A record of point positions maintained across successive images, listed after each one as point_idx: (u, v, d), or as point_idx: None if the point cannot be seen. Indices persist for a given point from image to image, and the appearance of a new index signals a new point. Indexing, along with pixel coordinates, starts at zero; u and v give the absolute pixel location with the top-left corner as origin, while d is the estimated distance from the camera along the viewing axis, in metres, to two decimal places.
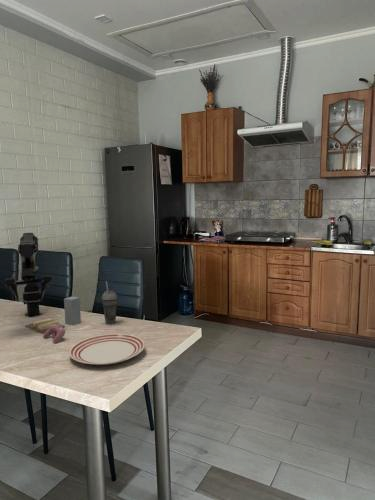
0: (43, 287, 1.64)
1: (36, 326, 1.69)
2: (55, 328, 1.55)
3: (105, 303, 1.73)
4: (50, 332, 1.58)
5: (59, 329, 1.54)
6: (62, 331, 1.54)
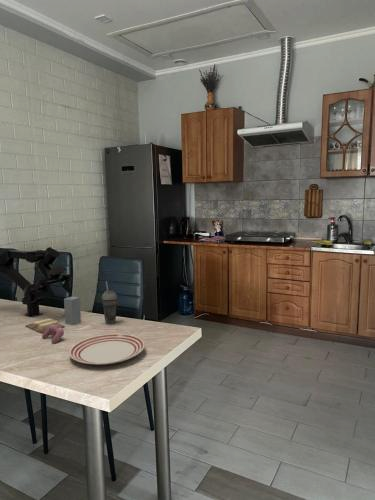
0: (68, 283, 1.85)
1: (36, 326, 1.69)
2: (54, 328, 1.55)
3: (105, 303, 1.73)
4: (49, 332, 1.58)
5: (58, 329, 1.53)
6: (61, 331, 1.53)
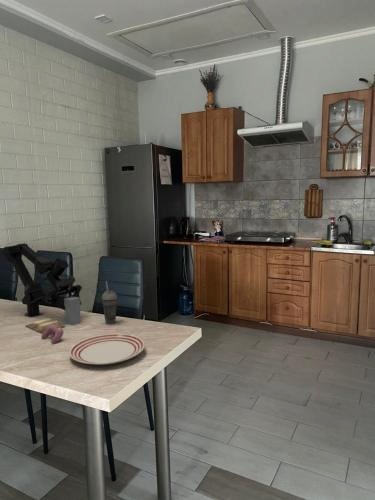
0: (78, 294, 1.82)
1: (36, 326, 1.69)
2: (53, 328, 1.54)
3: (105, 303, 1.73)
4: (48, 332, 1.57)
5: (57, 330, 1.53)
6: (60, 332, 1.53)
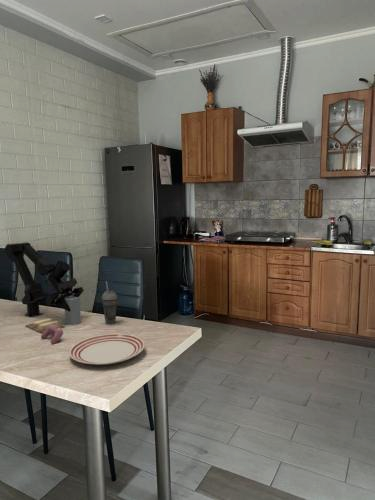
0: None
1: (36, 326, 1.69)
2: (53, 329, 1.54)
3: (105, 303, 1.73)
4: (48, 333, 1.57)
5: (57, 330, 1.53)
6: (60, 332, 1.53)
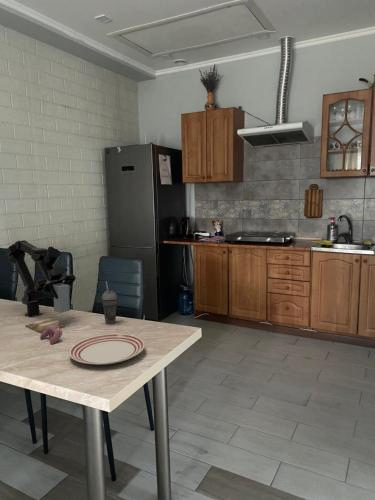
0: None
1: (36, 326, 1.69)
2: (52, 329, 1.54)
3: (105, 303, 1.73)
4: (47, 333, 1.57)
5: (56, 330, 1.53)
6: (59, 332, 1.53)
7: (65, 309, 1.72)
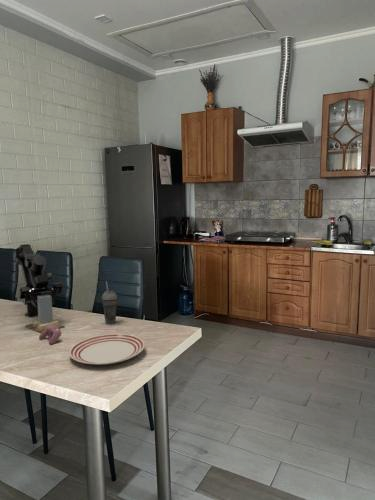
0: (54, 293, 1.73)
1: (36, 326, 1.69)
2: (51, 329, 1.54)
3: (105, 303, 1.73)
4: (46, 333, 1.57)
5: (55, 330, 1.52)
6: (58, 332, 1.52)
7: (47, 321, 1.69)
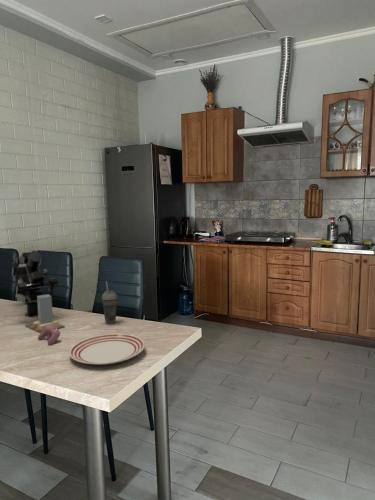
0: (52, 288, 1.81)
1: (36, 326, 1.69)
2: (50, 330, 1.53)
3: (105, 303, 1.73)
4: (45, 334, 1.56)
5: (54, 331, 1.52)
6: (57, 333, 1.52)
7: (47, 320, 1.69)
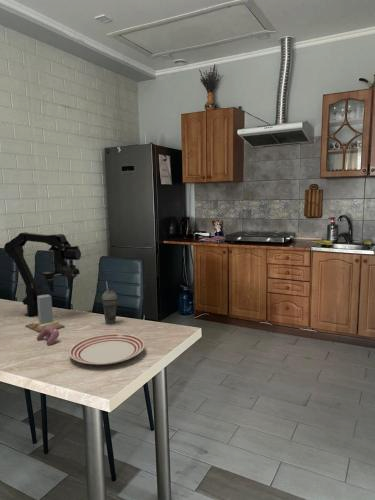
0: (72, 279, 1.90)
1: (36, 326, 1.69)
2: (49, 330, 1.53)
3: (105, 303, 1.73)
4: (44, 334, 1.56)
5: (53, 331, 1.52)
6: (56, 333, 1.51)
7: (47, 320, 1.69)
